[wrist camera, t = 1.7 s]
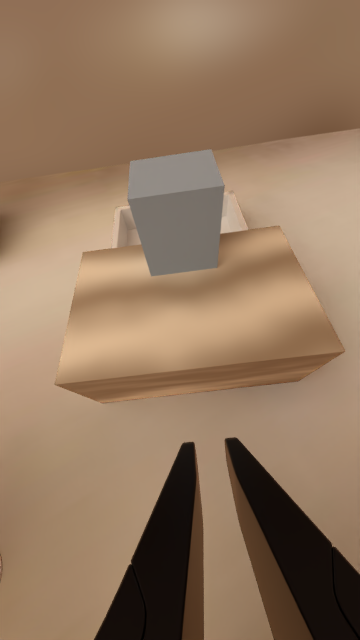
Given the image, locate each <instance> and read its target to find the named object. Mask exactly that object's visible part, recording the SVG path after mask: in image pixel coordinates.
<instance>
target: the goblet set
mask: <svg viewBox="0 0 360 640" xmlns="http://www.w3.org/2000/svg"><path fill="white" fill-rule="evenodd" d="M1 575H2V559H1V555H0V581H1Z"/></svg>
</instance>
